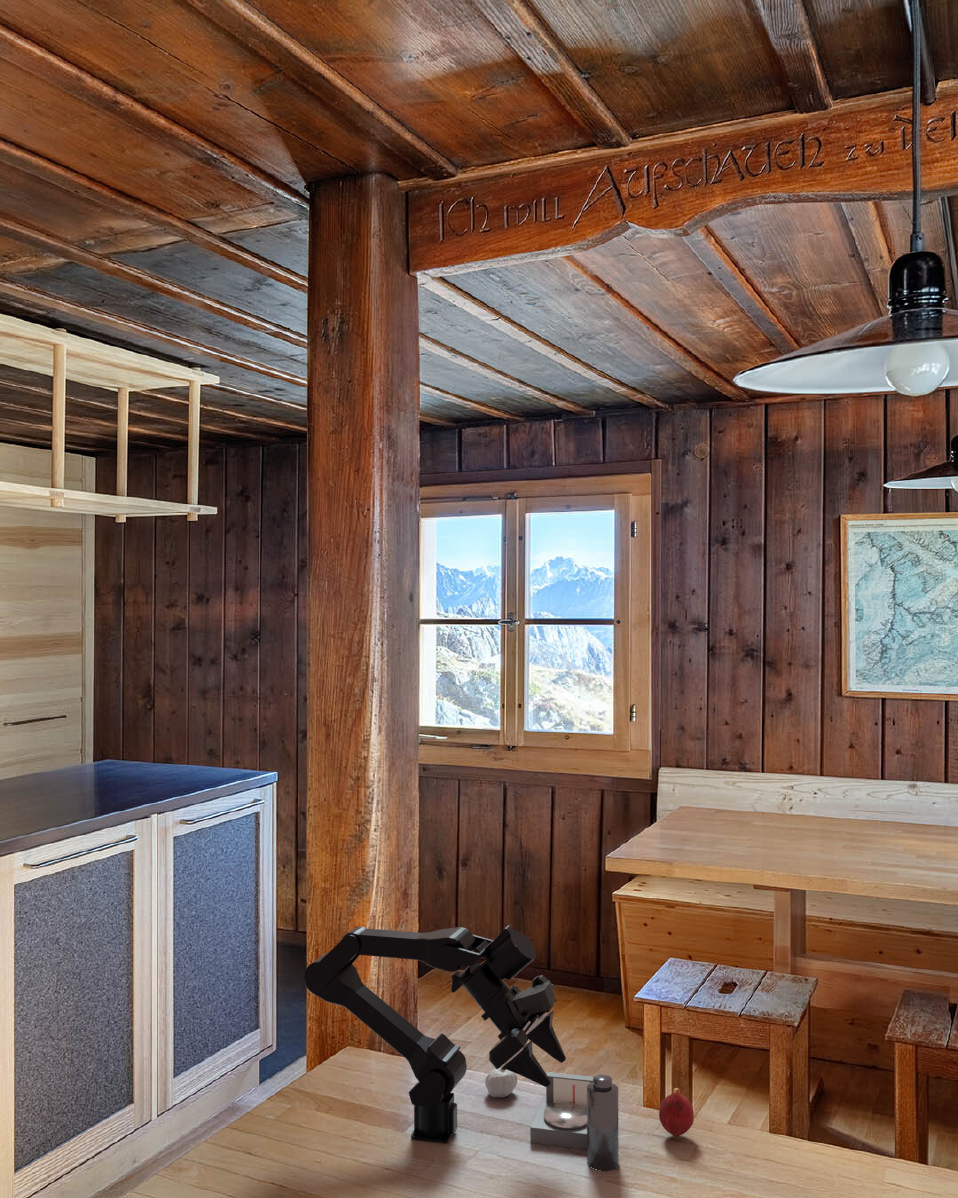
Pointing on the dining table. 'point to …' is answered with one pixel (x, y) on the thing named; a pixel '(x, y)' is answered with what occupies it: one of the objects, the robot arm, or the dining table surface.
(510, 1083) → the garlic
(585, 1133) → the scale
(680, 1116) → the onion
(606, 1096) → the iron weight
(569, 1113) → the scale pan
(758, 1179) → the dining table surface
